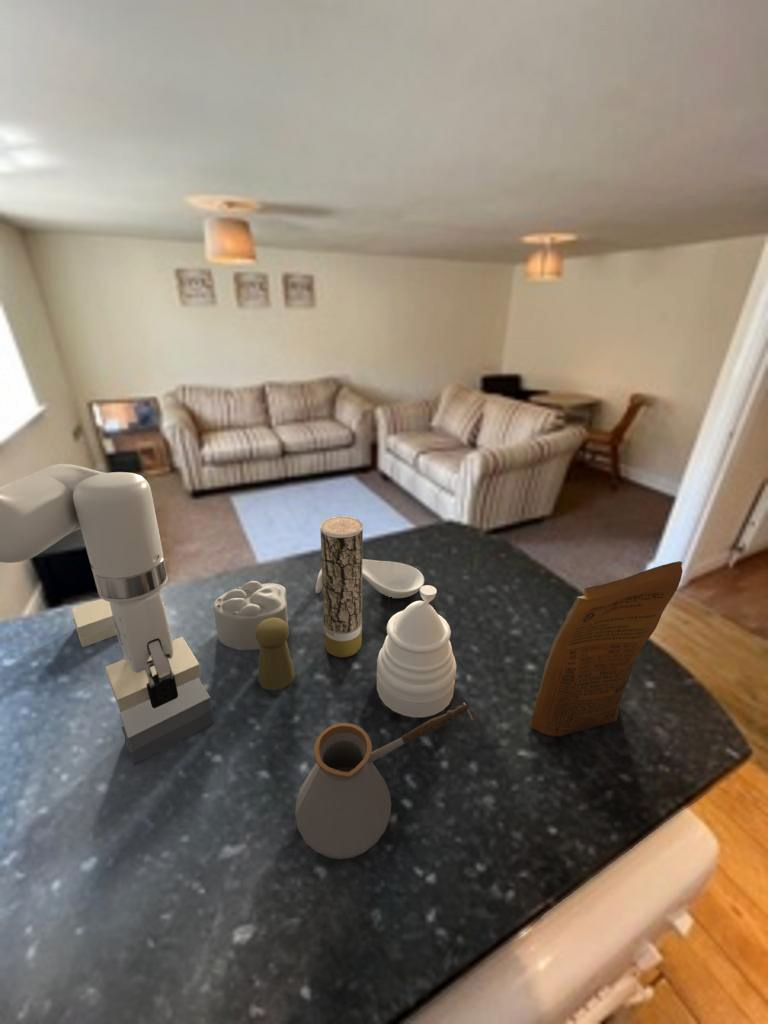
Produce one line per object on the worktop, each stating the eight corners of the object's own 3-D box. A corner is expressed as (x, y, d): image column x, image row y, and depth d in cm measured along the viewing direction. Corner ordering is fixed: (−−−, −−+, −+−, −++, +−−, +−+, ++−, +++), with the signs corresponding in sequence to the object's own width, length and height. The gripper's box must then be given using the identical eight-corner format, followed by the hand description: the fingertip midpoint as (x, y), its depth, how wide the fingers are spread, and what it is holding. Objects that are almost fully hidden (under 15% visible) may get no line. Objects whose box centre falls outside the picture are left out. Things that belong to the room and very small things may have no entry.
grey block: (134, 764, 60) (126, 739, 58) (125, 739, 64) (117, 714, 62) (214, 721, 67) (210, 697, 65) (202, 700, 70) (198, 677, 68)
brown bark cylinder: (339, 665, 78) (336, 539, 68) (317, 644, 83) (312, 523, 72) (369, 648, 82) (371, 526, 72) (346, 629, 87) (345, 512, 76)
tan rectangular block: (82, 647, 80) (75, 628, 78) (75, 627, 85) (69, 608, 83) (143, 625, 86) (139, 606, 84) (134, 607, 91) (130, 589, 89)
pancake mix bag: (646, 725, 68) (707, 570, 57) (538, 755, 63) (580, 591, 52) (614, 692, 74) (663, 545, 62) (513, 716, 69) (545, 561, 57)
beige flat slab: (120, 712, 56) (116, 700, 55) (108, 679, 60) (104, 666, 60) (201, 676, 62) (199, 664, 61) (184, 648, 66) (182, 636, 66)
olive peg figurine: (282, 657, 79) (277, 607, 75) (301, 676, 75) (298, 624, 71) (251, 675, 75) (244, 623, 71) (270, 696, 72) (264, 642, 67)
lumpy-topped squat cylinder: (289, 645, 82) (286, 606, 79) (214, 654, 80) (208, 615, 76) (287, 610, 91) (285, 574, 88) (221, 617, 89) (215, 581, 85)
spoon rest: (420, 576, 104) (422, 549, 101) (426, 607, 94) (428, 578, 91) (319, 575, 104) (318, 548, 101) (313, 606, 93) (311, 577, 90)
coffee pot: (302, 886, 48) (294, 798, 42) (291, 786, 58) (284, 702, 52) (480, 831, 54) (497, 746, 48) (443, 748, 64) (452, 669, 58)
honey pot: (403, 647, 83) (408, 564, 75) (466, 679, 76) (479, 591, 68) (360, 691, 73) (361, 600, 65) (428, 732, 66) (438, 636, 59)
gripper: (82, 554, 58) (111, 659, 65) (112, 624, 46) (144, 743, 53) (145, 538, 62) (166, 638, 70) (188, 598, 50) (207, 711, 58)
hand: (156, 683), depth 61 cm, fingers closed on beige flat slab, 7 cm apart
